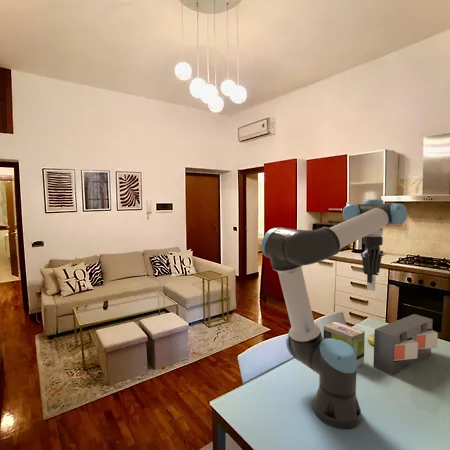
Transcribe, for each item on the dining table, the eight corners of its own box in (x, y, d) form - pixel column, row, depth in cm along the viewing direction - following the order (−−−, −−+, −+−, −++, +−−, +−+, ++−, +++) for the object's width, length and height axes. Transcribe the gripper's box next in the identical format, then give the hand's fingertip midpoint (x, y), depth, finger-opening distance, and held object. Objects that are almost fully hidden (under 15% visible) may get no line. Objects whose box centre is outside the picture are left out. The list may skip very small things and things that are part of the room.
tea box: (364, 363, 128) (365, 331, 128) (351, 370, 123) (352, 337, 122) (335, 349, 141) (336, 320, 140) (322, 355, 135) (323, 325, 134)
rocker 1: (392, 361, 120) (393, 345, 120) (387, 357, 123) (388, 341, 122) (417, 358, 122) (418, 342, 122) (412, 355, 125) (413, 339, 124)
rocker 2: (414, 349, 129) (415, 334, 129) (409, 346, 132) (410, 332, 132) (437, 347, 131) (438, 332, 131) (432, 344, 134) (432, 330, 134)
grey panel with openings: (392, 376, 118) (394, 336, 117) (373, 367, 125) (374, 329, 124) (431, 354, 136) (433, 319, 135) (412, 347, 143) (414, 313, 142)
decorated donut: (394, 345, 145) (394, 338, 145) (383, 351, 139) (384, 344, 139) (374, 337, 154) (374, 330, 154) (363, 343, 148) (363, 335, 148)
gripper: (372, 237, 115) (370, 294, 117) (390, 235, 122) (388, 289, 124) (355, 235, 122) (353, 290, 123) (373, 234, 129) (371, 285, 130)
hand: (371, 289), depth 124 cm, fingers closed
